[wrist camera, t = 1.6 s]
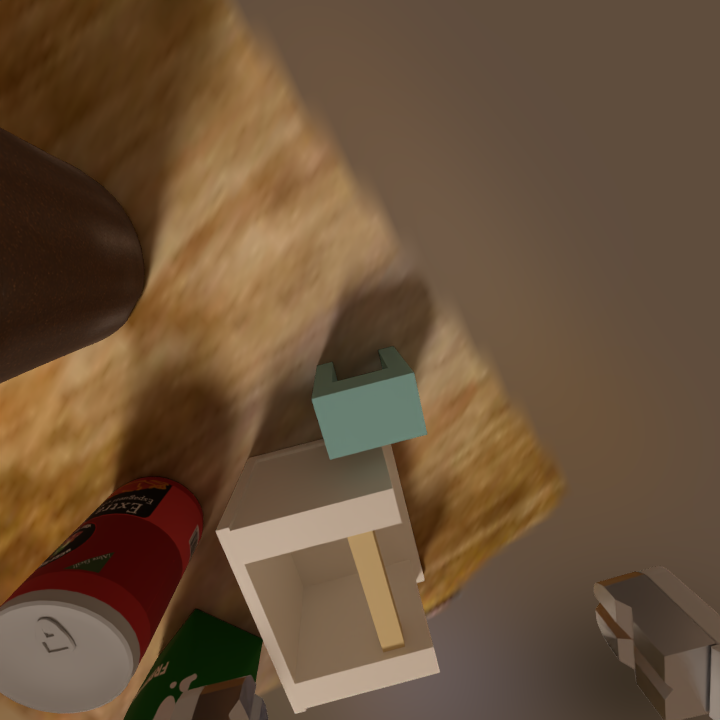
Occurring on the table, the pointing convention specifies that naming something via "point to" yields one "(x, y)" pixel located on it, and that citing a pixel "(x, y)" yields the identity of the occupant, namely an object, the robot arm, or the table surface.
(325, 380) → the green slotted block
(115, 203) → the plant pot
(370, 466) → the shelf
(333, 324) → the table surface
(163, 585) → the canned food
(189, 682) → the milk carton
